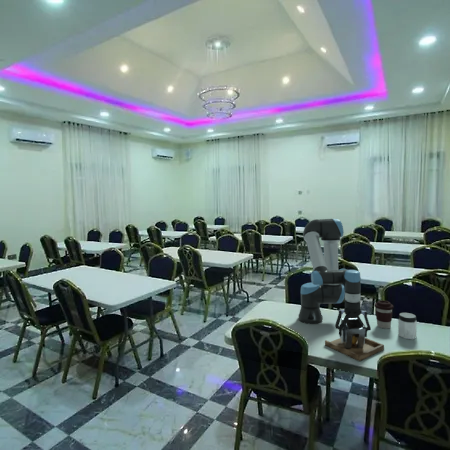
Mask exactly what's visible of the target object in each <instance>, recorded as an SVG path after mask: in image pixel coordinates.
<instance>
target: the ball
mask: <svg viewBox="0 0 450 450" xmlns="http://www.w3.org/2000/svg"><path fill="white" fill-rule="evenodd" d="M356 343H357V338H356V337H355V336H353V338H352V344H356Z"/></svg>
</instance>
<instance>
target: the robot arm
mask: <svg viewBox="0 0 450 450" xmlns="http://www.w3.org/2000/svg"><path fill="white" fill-rule="evenodd" d="M302 236H303V240H304V241H305V242H306V245H307V250H308V254H309V257H310V261H311V262H310V263H311V266H312V269H313V271H311V273H310V281H311V282H307V283H304V284H302V285H301V287H300V309H299V313H298V320H299V321H300V322H301V321H302V322H301V323H304V322H305V324H308V323H310V324H311V325H313V324H320V323H322V322H323V321H322V320H323V319H324V317H323V315H322V311H321V307H320V305H323V304H324V305H326V304H331V305H332V304H334V305H336V304H341V303H343V301H344V308H343V309H338V311H337V312H338V314H337V315H338V316H337V318H336V322H335V325H334V326H335V327H334V328H335V329H337V330H338V335H339V337H340V336H341V342H342V343H343V329H342V328H343V327H344V323H346V322H347V320H348V319H349V318H354V319H356V318H357V319H358V321H359V322H360V324H361V325H364V327H365V329H366V330H365V338H367V337H368V332H369V331H371V330H372V329H371V325H370V322H369V318H368V312H367V310H366V309H365V310H361V309H362V308H361V279H362V278H361V271H358V270H356V269H346V268H340V269H339V243H340V241H341V238H342V237H344V226H343V223H342V221H341V220H340V218H339V219H338V218H321V219H320V218H319V219H315V218H314V219H312V220H310V221H309V222H307V224H306V225H305V226H304V228H303V232H302ZM321 242H322V243H323V249H322V246H321ZM344 314H345V315H344ZM342 315H344V317H343V318H344V319H343V321H342V322H341V319H342ZM360 315H363V318H364V320H365V324H366V325H365V324H364V323H363V320H362V319H361V317H360ZM310 324H309V325H310ZM365 338H364V344H365Z"/></svg>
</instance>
